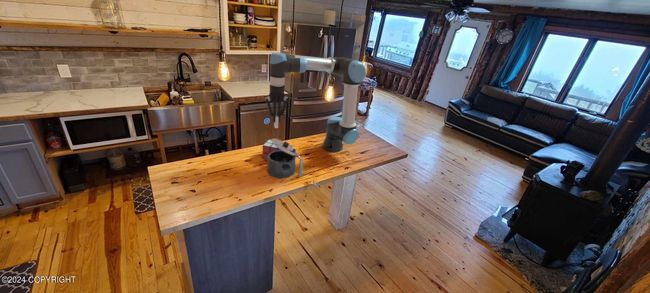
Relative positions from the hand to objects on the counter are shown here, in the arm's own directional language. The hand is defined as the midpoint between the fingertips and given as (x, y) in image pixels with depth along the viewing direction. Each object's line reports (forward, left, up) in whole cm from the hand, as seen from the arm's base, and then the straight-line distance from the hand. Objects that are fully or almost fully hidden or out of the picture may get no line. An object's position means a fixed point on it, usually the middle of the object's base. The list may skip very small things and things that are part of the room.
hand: (276, 127), depth 149 cm
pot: (-4, 0, -29) cm, 29 cm away
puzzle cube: (-4, -18, -29) cm, 34 cm away
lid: (-5, 0, -14) cm, 15 cm away
